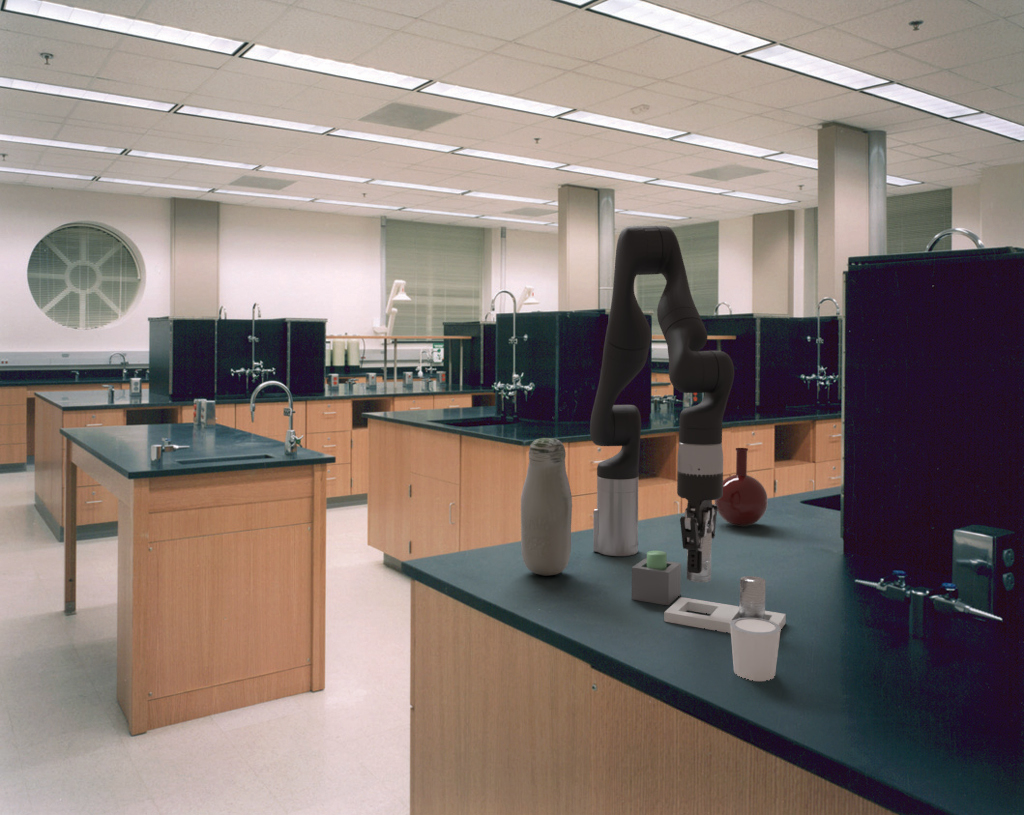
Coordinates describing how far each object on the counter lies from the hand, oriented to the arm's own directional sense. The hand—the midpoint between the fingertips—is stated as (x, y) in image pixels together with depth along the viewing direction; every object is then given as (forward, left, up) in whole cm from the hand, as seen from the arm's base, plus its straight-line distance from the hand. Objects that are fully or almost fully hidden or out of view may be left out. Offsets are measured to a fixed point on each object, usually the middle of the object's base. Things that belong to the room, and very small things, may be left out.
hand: (698, 568), depth 132 cm
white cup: (+13, -18, -9) cm, 24 cm away
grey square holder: (-10, +7, -9) cm, 15 cm away
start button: (-10, +7, -6) cm, 14 cm away
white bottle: (-35, +10, -9) cm, 37 cm away
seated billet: (+9, 0, -9) cm, 12 cm away
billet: (0, 0, -2) cm, 2 cm away
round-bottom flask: (-11, +72, -9) cm, 73 cm away
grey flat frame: (+4, 0, -9) cm, 10 cm away
